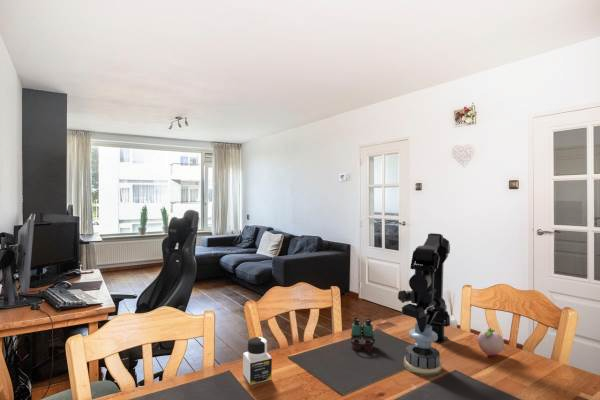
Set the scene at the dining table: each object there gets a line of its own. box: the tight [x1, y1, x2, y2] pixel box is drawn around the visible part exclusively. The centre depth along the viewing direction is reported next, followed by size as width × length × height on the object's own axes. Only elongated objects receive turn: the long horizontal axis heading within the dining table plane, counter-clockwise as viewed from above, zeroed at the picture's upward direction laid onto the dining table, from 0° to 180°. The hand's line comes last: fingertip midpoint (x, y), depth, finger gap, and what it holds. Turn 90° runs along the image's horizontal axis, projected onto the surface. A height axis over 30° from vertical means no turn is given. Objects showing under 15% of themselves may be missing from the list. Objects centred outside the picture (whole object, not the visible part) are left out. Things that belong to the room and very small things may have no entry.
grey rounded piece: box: [408, 322, 438, 349], centre depth 118 cm, size 9×9×7 cm
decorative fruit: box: [477, 327, 505, 356], centre depth 128 cm, size 9×8×10 cm
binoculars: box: [350, 317, 376, 352], centre depth 132 cm, size 9×11×10 cm
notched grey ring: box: [403, 343, 442, 377], centre depth 118 cm, size 12×12×6 cm
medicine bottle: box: [242, 336, 273, 386], centre depth 111 cm, size 7×7×12 cm
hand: (423, 331), depth 118 cm, fingers closed on grey rounded piece
